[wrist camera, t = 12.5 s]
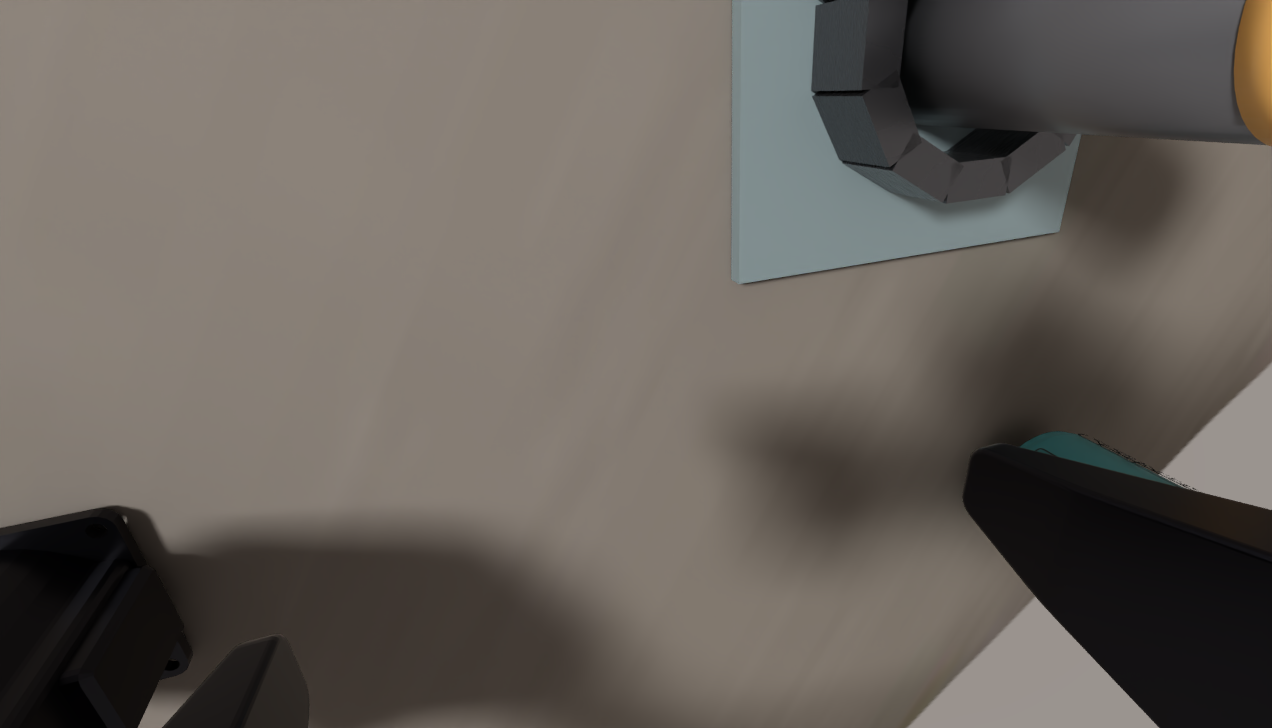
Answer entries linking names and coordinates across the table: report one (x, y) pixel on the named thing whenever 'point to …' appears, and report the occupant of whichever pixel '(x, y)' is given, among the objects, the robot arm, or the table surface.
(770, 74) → the blue-gray square plate
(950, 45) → the gray canister
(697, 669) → the table surface
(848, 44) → the barrel ring
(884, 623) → the table surface
